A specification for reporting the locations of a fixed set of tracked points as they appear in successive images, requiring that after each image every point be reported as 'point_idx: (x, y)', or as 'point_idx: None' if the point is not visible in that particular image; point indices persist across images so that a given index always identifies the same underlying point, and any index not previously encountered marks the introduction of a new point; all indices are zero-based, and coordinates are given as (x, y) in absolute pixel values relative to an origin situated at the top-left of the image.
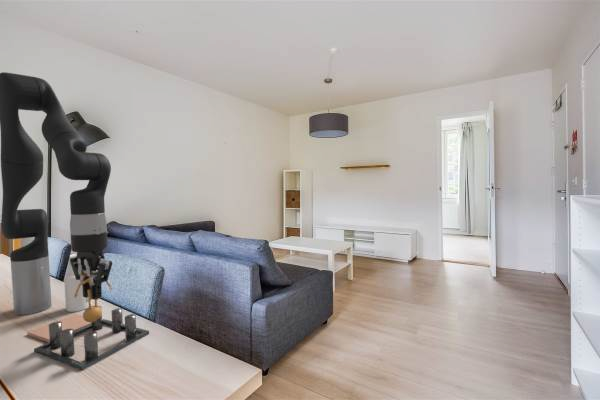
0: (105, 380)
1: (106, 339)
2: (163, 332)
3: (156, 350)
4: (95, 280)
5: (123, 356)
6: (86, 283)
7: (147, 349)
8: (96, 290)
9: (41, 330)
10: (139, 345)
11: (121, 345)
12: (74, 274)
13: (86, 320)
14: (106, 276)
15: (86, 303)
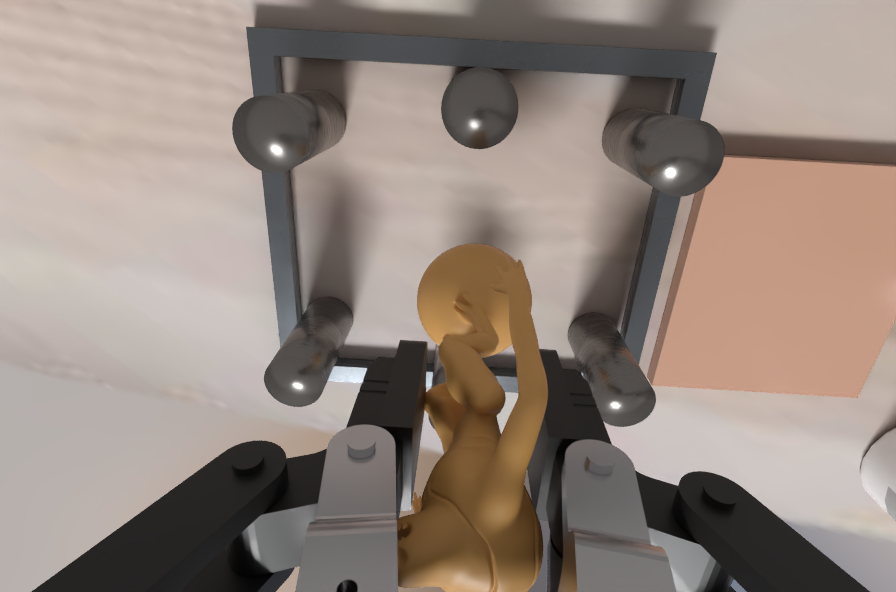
0: (63, 12)
1: None
2: (240, 396)
3: (116, 277)
4: (265, 479)
5: (200, 191)
6: (542, 459)
7: (161, 271)
8: (356, 405)
9: (886, 211)
10: (229, 284)
11: (273, 243)
12: (805, 541)
13: (465, 244)
14: (194, 587)
15: (882, 483)
